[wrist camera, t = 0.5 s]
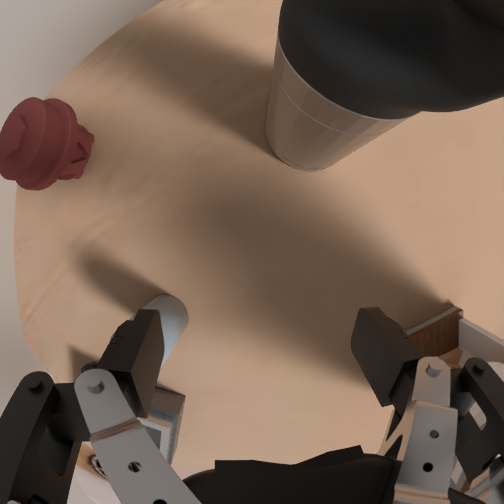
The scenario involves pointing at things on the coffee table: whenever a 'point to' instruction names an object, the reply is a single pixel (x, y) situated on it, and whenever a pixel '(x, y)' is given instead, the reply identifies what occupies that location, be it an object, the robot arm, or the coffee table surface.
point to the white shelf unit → (459, 357)
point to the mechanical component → (43, 144)
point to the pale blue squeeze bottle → (169, 320)
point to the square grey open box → (161, 418)
